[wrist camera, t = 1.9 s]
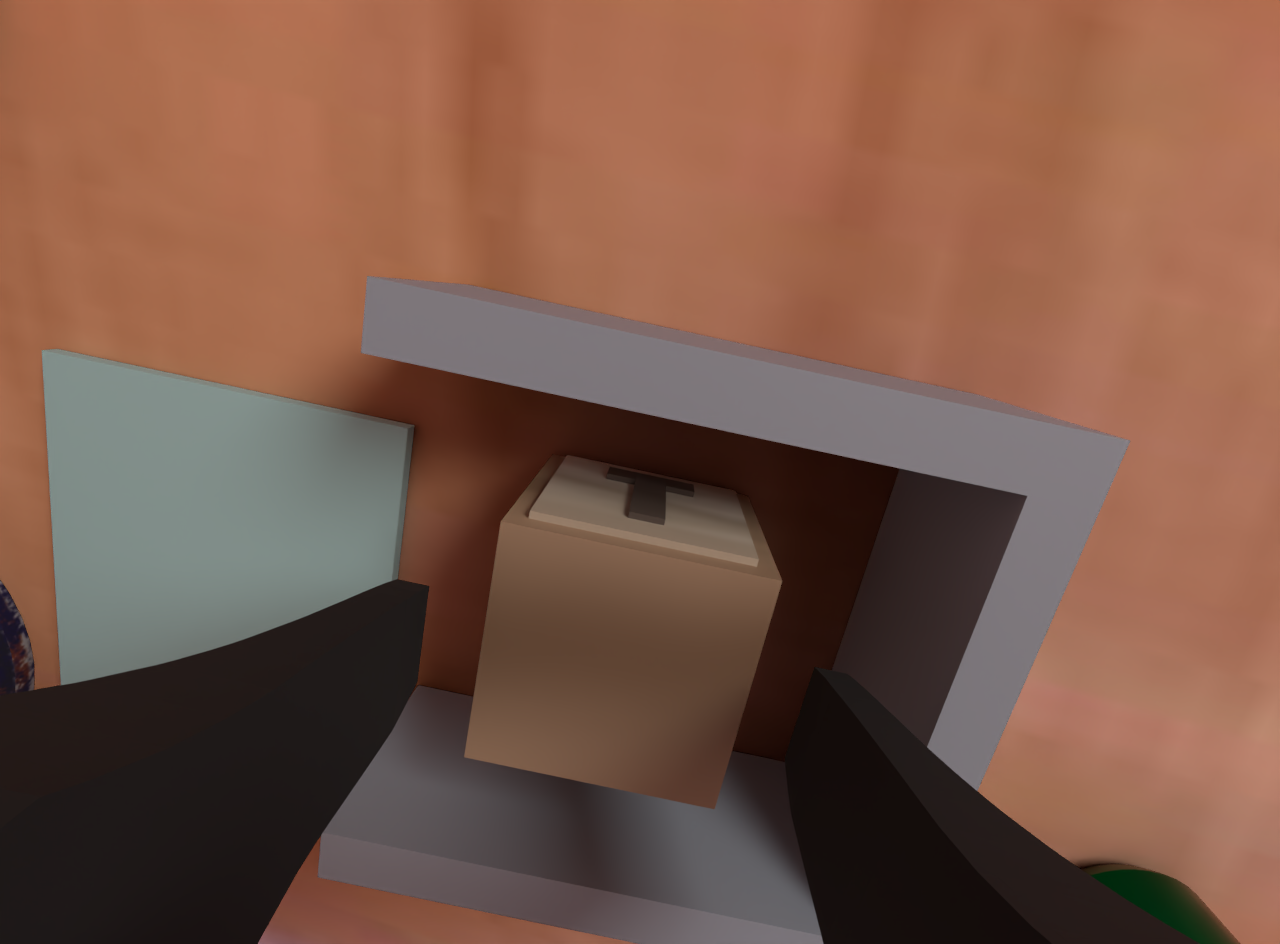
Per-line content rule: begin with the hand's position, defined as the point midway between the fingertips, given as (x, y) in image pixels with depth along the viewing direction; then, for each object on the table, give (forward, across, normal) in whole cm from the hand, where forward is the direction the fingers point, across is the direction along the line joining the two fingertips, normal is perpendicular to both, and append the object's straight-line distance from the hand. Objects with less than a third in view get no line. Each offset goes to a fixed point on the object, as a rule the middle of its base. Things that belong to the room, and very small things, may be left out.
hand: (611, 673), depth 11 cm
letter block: (+5, 0, 0) cm, 5 cm away
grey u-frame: (+5, -1, 0) cm, 5 cm away
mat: (+5, +10, +4) cm, 12 cm away
